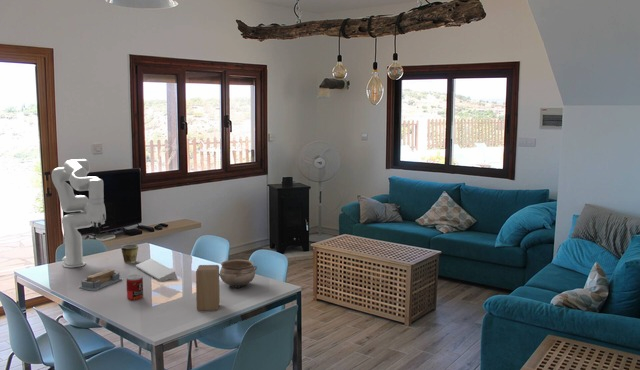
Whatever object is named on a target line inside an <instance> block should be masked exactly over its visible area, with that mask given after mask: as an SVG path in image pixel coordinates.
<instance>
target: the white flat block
mask: <svg viewBox="0 0 640 370" xmlns="http://www.w3.org/2000/svg"><path fill="white" fill-rule="evenodd" d="M135 267H136V269H138V270H140V271H142V272H143V273H144V274H147V275H149V276H150V277H152V278H153V277H154V279H155V280H157V281H159V282H164V281H165V280H166V281H169V280H177V279H178V277H177V273H176V271H175V270H173V269H171V268H170V267H168V266H166V265H164V264H163V263H160V262H158V261H156V260H154V259H153V258H149V259H147V260H144V261H142V262H140V263H137V264H135Z"/></svg>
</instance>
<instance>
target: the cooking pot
mask: <svg viewBox="0 0 640 370" xmlns="http://www.w3.org/2000/svg"><path fill="white" fill-rule="evenodd" d="M254 264H255V263H254V262H253V261H251V260H248V259H238V258H237V259H230V260H229V259H228V260H225V261H223V262H220V265H221V268H220V269H219V279H221V281H222V283H224V284H226V285H229V286H230V287H232V288H242V287H244V286H246V285H248V284H250V283H251V282H252V281H253V279H255V275H256V270H258V265H254Z"/></svg>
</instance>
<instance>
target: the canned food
mask: <svg viewBox="0 0 640 370" xmlns="http://www.w3.org/2000/svg"><path fill="white" fill-rule="evenodd" d="M143 279H144V278H143V275H141V274H130V275H128V276H126V280H125V281H126V298H127V300H128V301H139V300H141V299H143V297H144V283H143V282H144V281H143Z"/></svg>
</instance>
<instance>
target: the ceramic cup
mask: <svg viewBox="0 0 640 370" xmlns="http://www.w3.org/2000/svg"><path fill="white" fill-rule="evenodd" d="M120 249H121V253H122V258H123V262H124V263H125V264H135V263H136V262H137V257H138V253H139V252H138V251H139V245H138V244H123V245H121V246H120ZM134 262H135V263H134Z"/></svg>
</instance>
